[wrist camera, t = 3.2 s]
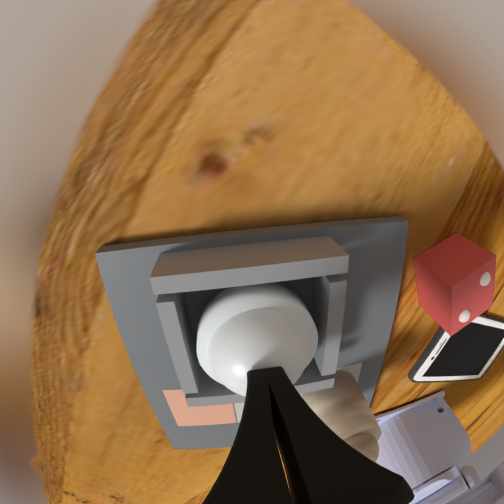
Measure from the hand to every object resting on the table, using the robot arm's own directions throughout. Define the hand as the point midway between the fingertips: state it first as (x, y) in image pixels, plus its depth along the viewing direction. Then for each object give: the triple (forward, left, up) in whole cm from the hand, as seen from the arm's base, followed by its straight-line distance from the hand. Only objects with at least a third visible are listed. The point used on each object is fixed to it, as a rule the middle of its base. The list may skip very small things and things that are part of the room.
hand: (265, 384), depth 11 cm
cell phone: (-21, +9, -7) cm, 24 cm away
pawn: (-5, +7, -5) cm, 10 cm away
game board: (-1, +4, -6) cm, 8 cm away
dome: (0, 0, -5) cm, 5 cm away
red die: (-13, -1, -6) cm, 14 cm away
